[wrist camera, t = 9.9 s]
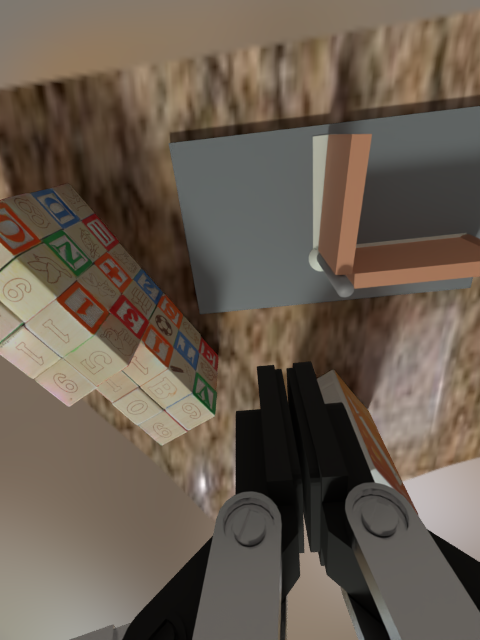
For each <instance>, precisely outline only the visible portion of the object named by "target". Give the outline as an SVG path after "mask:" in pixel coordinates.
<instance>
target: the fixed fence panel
mask: <svg viewBox="0 0 480 640" xmlns="http://www.w3.org/2000/svg"><path fill="white" fill-rule="evenodd" d="M346 276H347V278H348V279H349V280H350V282H351V283H352V284H353V286H354V289H357V288H367V287H377V286H387V285H397V284H407V283H418V282H428V281H438V280H448V279H458V278H468V277H478V276H480V239H479V238H477V237H475V236H472V235H470V234H465V235H462V236H461V237H456V238H447V239H437V240H428V241H418V242H408V243H399V244H389V245H380V246H370V247H360V248H356V249H355V256H354V263H353V270H352V275H346Z"/></svg>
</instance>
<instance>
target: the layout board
mask: <svg viewBox="0 0 480 640" xmlns="http://www.w3.org/2000/svg"><path fill="white" fill-rule="evenodd" d="M331 134H372V138H371V145H370V152H369V159H368V166H367V173H366V180H365V187H364V194H363V201H362V208H361V214H360V221H359V228H358V235H357V242H356V248H360V247H370V246H380V245H389V244H399V243H408V242H418V241H428V240H437V239H447V238H456V237H461V236H462V235H465V234H470V235H472V236H475V237H477V238H479V239H480V106H476V107H468V108H460V109H451V110H443V111H435V112H426V113H418V114H410V115H401V116H393V117H385V118H376V119H368V120H360V121H351V122H343V123H335V124H326V125H318V126H310V127H301V128H293V129H285V130H276V131H268V132H259V133H251V134H243V135H234V136H226V137H218V138H209V139H201V140H193V141H184V142H176V143H169V147H170V153H171V158H172V164H173V169H174V175H175V180H176V186H177V191H178V196H179V202H180V207H181V213H182V218H183V224H184V229H185V235H186V240H187V246H188V251H189V257H190V262H191V268H192V273H193V279H194V284H195V290H196V295H197V301H198V306H199V312H200V314H207V313H217V312H227V311H238V310H248V309H258V308H268V307H278V306H289V305H299V304H309V303H319V302H329V301H340V300H350V299H360V298H370V297H380V296H391V295H401V294H411V293H421V292H431V291H442V290H452V289H462V288H470V287H471V283H472V279H473V277H468V278H458V279H448V280H438V281H428V282H418V283H407V284H397V285H387V286H377V287H367V288H357V289H354V292H353V293H352V294H351V295H350V296H348V297H341V296H339V295H338V293H337V291H336V290H335V288H334V287H333V285H332V284H331V282H330V280H329V279H328V277H327V276H326V274H325V273H324V271H323V269H322V268H321V266H320V265H319V263H318V262H317V255H318V254H319V253H320V252H319V251H318V246H319V235H320V224H321V213H322V202H323V191H324V180H325V168H326V157H327V146H328V135H331Z"/></svg>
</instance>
